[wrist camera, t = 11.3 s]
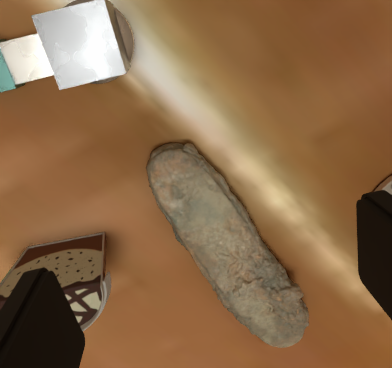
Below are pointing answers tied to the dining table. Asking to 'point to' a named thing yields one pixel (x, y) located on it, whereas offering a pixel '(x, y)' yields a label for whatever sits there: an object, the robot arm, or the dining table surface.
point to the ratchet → (42, 56)
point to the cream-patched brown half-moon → (69, 273)
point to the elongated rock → (226, 245)
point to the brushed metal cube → (83, 43)
